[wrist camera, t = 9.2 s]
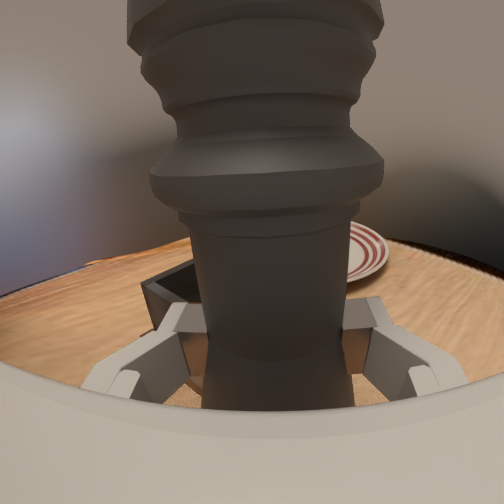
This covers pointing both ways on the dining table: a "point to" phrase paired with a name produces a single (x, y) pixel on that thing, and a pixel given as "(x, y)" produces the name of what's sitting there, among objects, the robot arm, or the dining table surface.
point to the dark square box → (172, 299)
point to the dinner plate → (365, 252)
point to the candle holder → (265, 182)
